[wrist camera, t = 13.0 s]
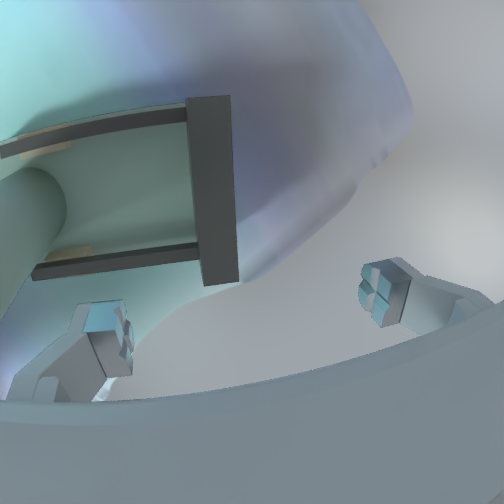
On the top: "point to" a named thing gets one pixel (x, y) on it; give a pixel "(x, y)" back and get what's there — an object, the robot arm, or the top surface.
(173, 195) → the flanged cylinder mount
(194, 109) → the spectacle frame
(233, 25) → the top surface
